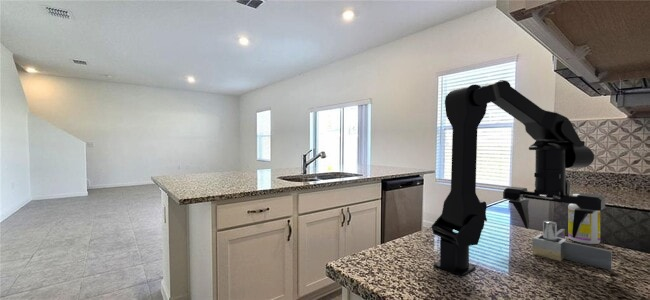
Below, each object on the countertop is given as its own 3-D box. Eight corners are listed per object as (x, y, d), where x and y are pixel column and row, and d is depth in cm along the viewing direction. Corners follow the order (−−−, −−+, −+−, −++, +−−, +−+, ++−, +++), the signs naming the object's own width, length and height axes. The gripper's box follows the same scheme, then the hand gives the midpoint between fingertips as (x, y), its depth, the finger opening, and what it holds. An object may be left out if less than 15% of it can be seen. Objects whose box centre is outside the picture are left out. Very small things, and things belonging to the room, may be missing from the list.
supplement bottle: (586, 237, 82) (587, 193, 82) (607, 245, 75) (607, 197, 75) (562, 236, 83) (562, 193, 83) (580, 244, 76) (580, 197, 76)
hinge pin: (554, 257, 67) (555, 224, 67) (541, 254, 69) (541, 222, 69) (557, 255, 69) (558, 222, 69) (544, 252, 71) (544, 220, 71)
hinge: (609, 273, 59) (609, 254, 59) (532, 254, 70) (532, 238, 69) (619, 255, 69) (619, 238, 68) (550, 241, 79) (550, 226, 79)
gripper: (609, 169, 66) (608, 235, 67) (517, 165, 81) (517, 219, 81) (600, 172, 60) (600, 245, 60) (502, 167, 74) (502, 226, 74)
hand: (549, 232), depth 69 cm, fingers open, 9 cm apart
